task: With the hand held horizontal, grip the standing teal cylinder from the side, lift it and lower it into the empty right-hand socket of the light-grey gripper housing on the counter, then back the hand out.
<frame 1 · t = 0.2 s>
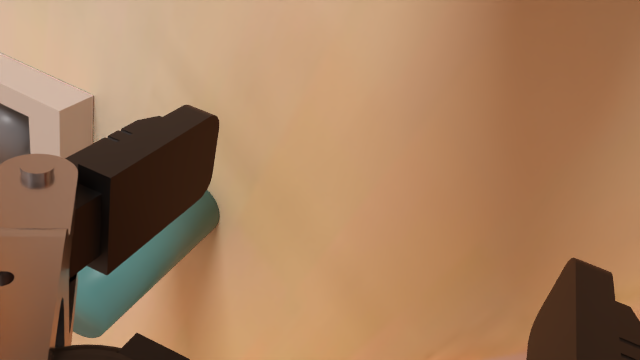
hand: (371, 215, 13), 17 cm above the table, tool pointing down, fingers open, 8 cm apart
teal cylinder: (193, 207, 39), on the table
housing: (33, 172, 44), on the table
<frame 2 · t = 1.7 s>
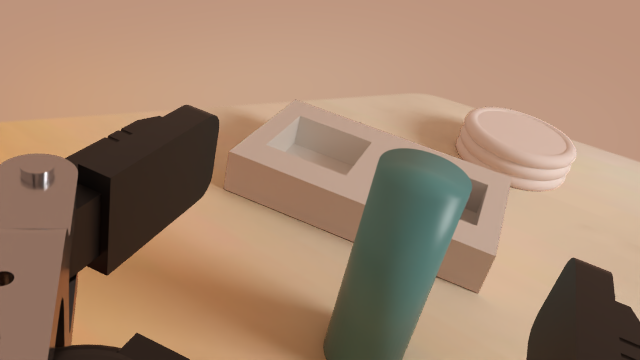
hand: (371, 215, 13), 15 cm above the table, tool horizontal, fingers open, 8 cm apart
teal cylinder: (361, 352, 30), on the table
housing: (369, 200, 42), on the table
coaster: (506, 165, 53), on the table
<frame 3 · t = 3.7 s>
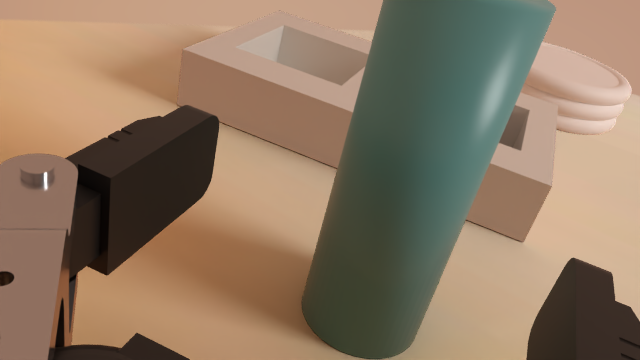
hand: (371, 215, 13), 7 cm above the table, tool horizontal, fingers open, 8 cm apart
teal cylinder: (359, 311, 20), on the table
housing: (371, 129, 32), on the table
coaster: (541, 108, 43), on the table
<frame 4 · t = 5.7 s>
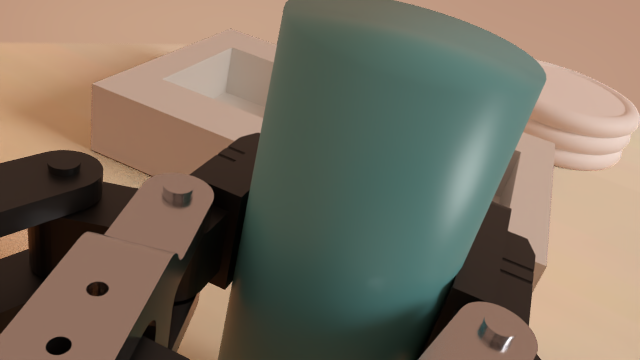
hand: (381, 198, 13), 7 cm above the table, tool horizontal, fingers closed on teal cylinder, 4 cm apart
housing: (332, 174, 27), on the table
coaster: (536, 136, 38), on the table
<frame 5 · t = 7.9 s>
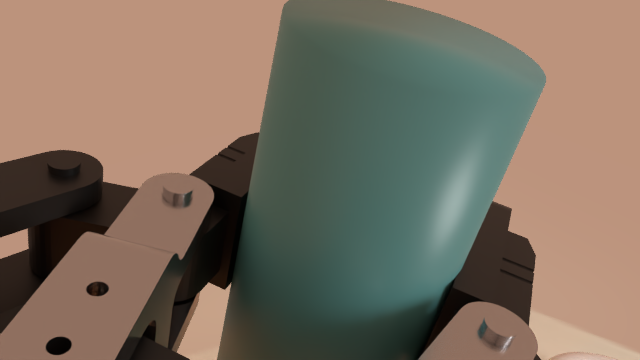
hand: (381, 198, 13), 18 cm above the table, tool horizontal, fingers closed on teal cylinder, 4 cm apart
when the fingers open (9 cm above the table, at t = 10.5 s): teal cylinder drops 2 cm, resting on housing.
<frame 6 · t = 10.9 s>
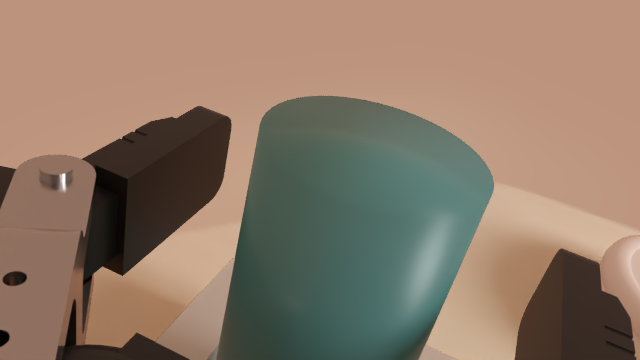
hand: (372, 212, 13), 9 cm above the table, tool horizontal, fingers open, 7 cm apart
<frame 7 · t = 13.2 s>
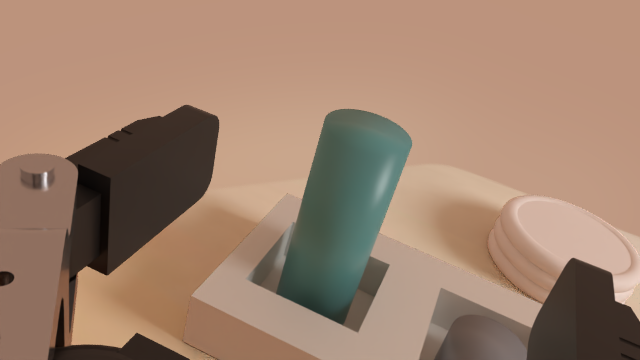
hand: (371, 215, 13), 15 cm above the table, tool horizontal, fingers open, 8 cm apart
teal cylinder: (310, 306, 31), point 1 cm above the table, touching housing
housing: (384, 348, 31), on the table
coaster: (550, 272, 42), on the table
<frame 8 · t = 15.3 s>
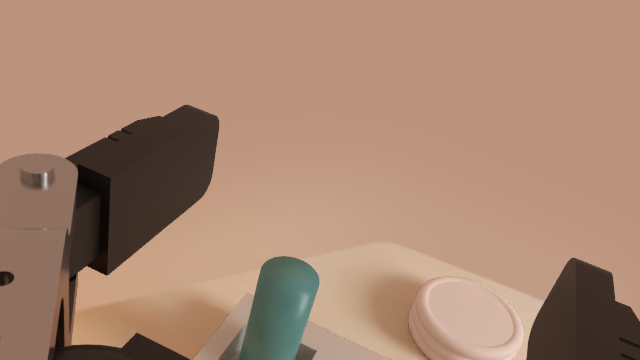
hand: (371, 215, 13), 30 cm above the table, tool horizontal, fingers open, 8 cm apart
coaster: (457, 339, 54), on the table
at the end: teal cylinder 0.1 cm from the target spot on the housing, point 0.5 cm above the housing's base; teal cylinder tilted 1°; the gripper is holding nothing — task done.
